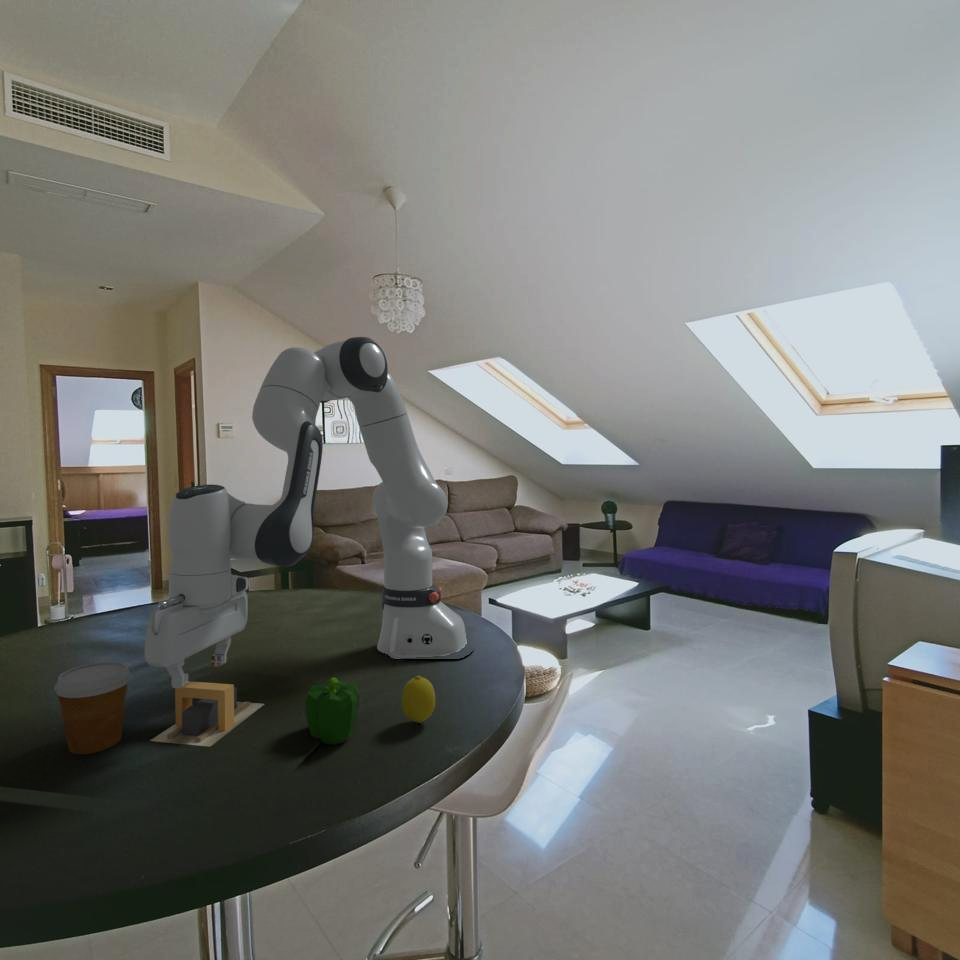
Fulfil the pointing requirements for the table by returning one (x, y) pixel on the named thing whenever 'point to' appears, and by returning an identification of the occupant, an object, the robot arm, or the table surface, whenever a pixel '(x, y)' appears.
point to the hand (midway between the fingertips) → (200, 675)
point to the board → (211, 733)
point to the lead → (201, 716)
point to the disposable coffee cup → (93, 705)
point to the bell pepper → (332, 711)
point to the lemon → (418, 699)
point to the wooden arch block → (207, 691)
